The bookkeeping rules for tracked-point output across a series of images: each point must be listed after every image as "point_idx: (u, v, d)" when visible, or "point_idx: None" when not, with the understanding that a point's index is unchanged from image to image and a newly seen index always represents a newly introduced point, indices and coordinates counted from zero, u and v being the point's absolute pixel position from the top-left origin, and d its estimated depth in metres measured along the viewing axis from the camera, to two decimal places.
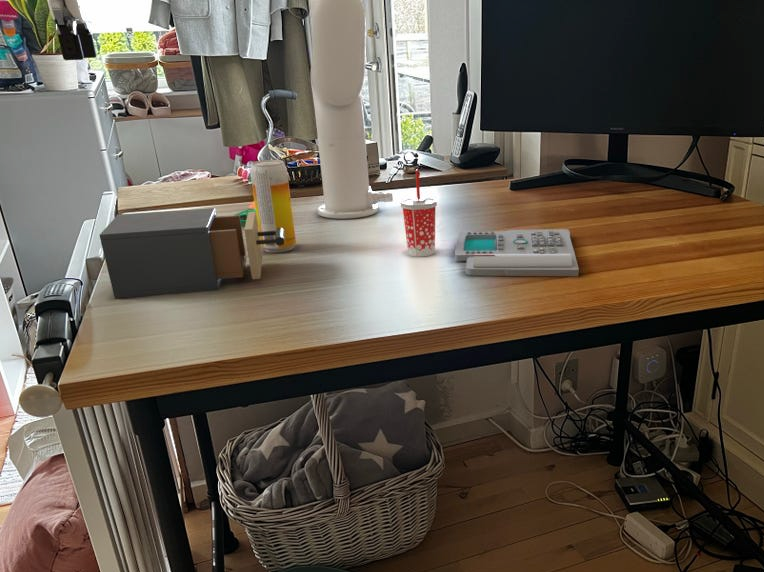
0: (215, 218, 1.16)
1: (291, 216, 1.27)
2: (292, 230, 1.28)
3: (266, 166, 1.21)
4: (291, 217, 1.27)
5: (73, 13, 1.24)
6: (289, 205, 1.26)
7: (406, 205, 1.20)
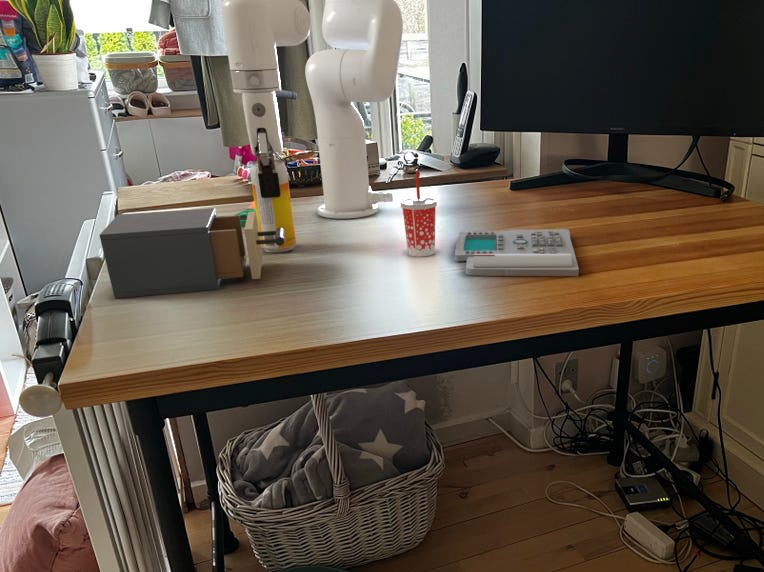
0: (215, 218, 1.16)
1: (291, 216, 1.27)
2: (292, 230, 1.28)
3: None
4: (291, 217, 1.27)
5: (274, 148, 1.18)
6: (289, 205, 1.26)
7: (406, 205, 1.20)
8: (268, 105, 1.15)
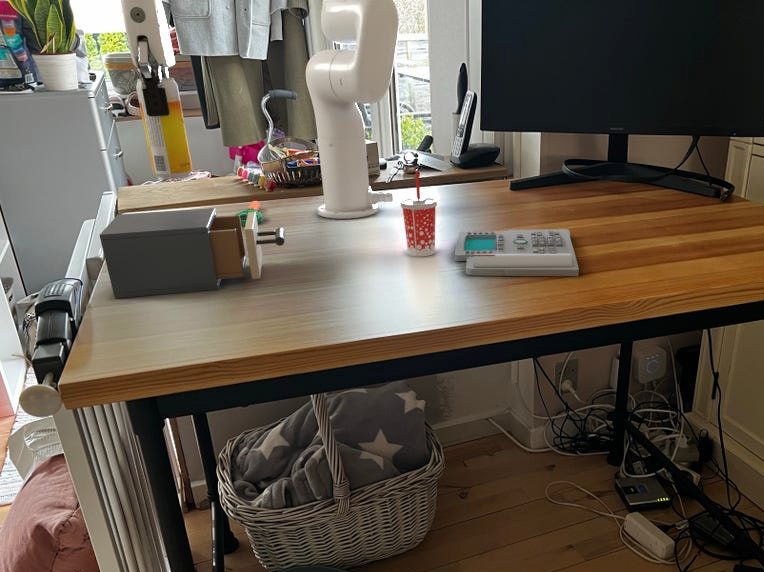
0: (215, 218, 1.16)
1: (185, 139, 1.17)
2: (186, 155, 1.18)
3: None
4: (185, 140, 1.17)
5: (157, 58, 1.08)
6: (181, 127, 1.16)
7: (406, 205, 1.20)
8: (149, 9, 1.06)
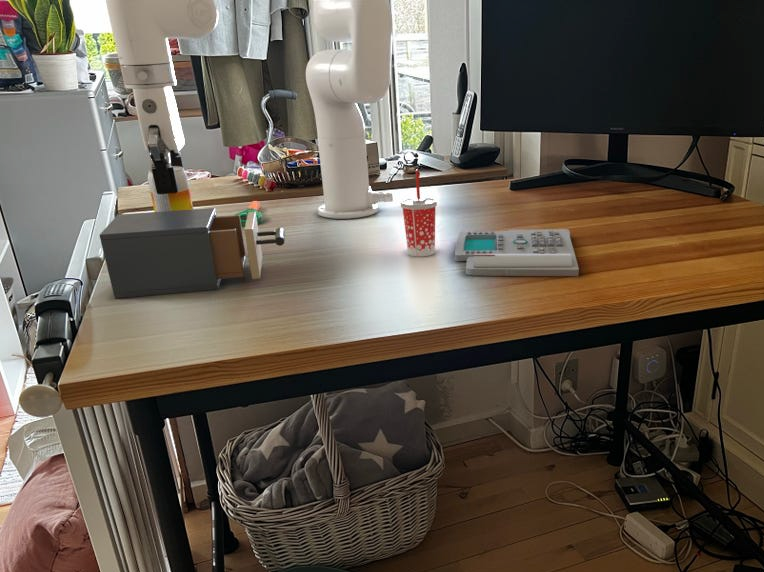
0: (215, 218, 1.16)
1: None
2: None
3: None
4: None
5: (169, 145, 1.13)
6: None
7: (406, 205, 1.20)
8: (160, 101, 1.11)
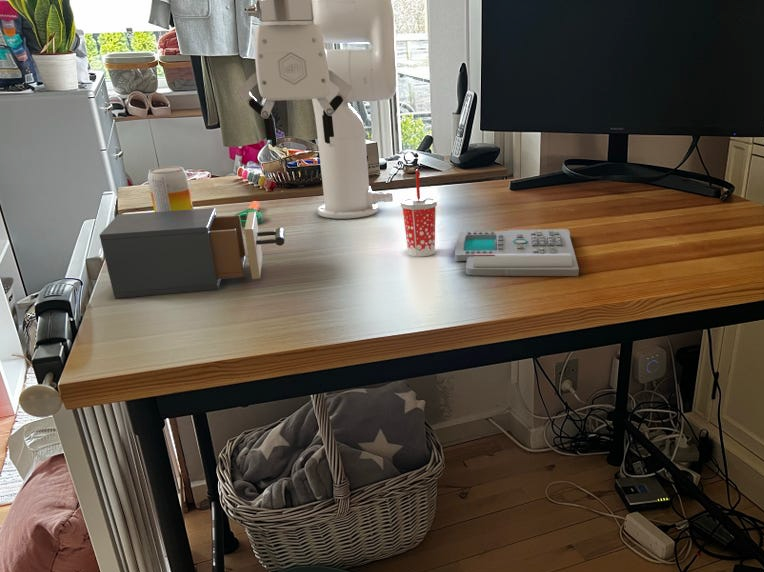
0: (215, 218, 1.16)
1: None
2: None
3: (163, 173, 1.17)
4: None
5: (259, 90, 1.04)
6: None
7: (406, 205, 1.20)
8: (255, 40, 1.02)
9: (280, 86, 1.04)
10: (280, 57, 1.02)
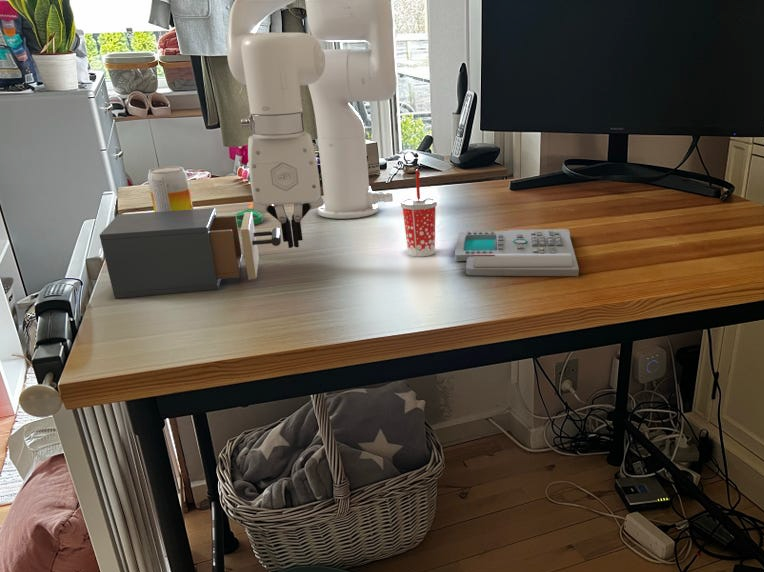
0: None
1: None
2: None
3: (163, 173, 1.17)
4: None
5: None
6: None
7: (406, 205, 1.20)
8: (248, 151, 1.07)
9: (273, 193, 1.09)
10: (273, 167, 1.08)
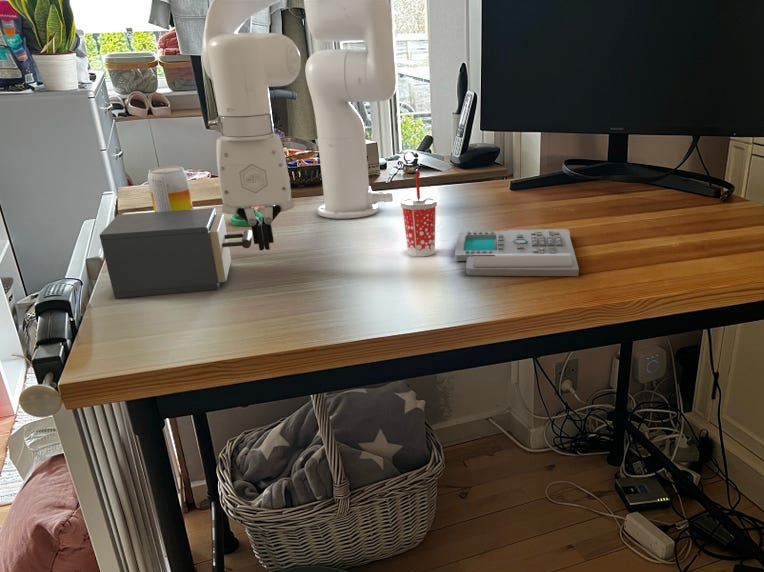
0: None
1: None
2: None
3: (163, 173, 1.17)
4: None
5: None
6: None
7: (406, 205, 1.20)
8: (217, 153, 1.06)
9: (242, 195, 1.08)
10: (241, 169, 1.07)
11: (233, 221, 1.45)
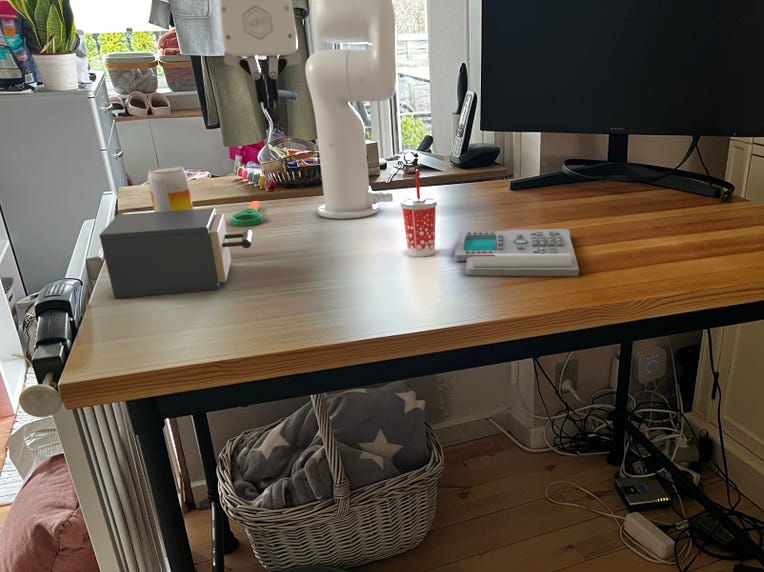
0: None
1: None
2: None
3: (163, 173, 1.17)
4: None
5: (223, 45, 1.01)
6: None
7: (406, 205, 1.20)
8: None
9: (245, 41, 1.00)
10: (244, 10, 0.99)
11: (233, 221, 1.45)
